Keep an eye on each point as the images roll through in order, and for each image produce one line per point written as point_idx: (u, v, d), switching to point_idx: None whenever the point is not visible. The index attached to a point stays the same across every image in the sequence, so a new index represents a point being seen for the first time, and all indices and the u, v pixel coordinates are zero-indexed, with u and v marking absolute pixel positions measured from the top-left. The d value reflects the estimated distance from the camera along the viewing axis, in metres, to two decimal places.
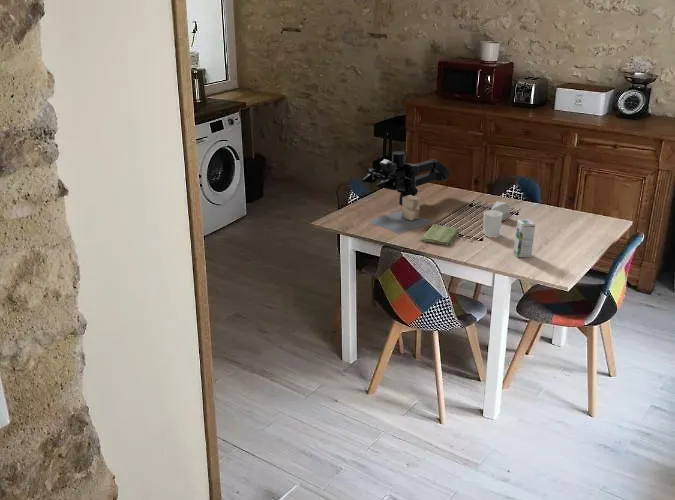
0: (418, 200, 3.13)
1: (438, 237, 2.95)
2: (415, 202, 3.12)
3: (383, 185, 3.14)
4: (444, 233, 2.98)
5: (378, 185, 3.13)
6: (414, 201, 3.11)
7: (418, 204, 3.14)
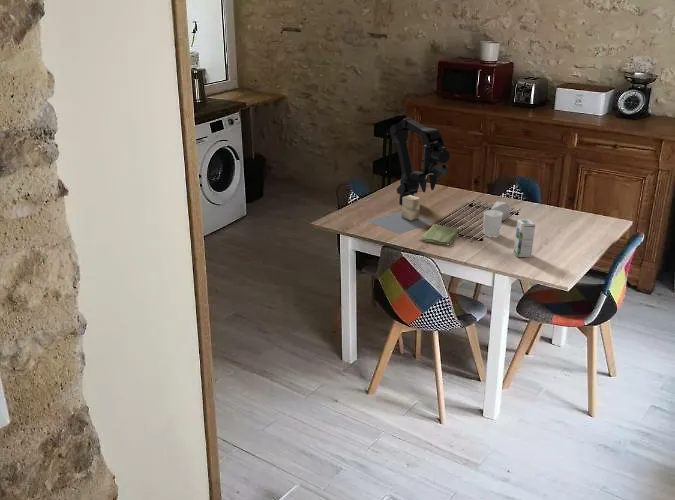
0: (418, 200, 3.13)
1: (438, 237, 2.95)
2: (415, 202, 3.12)
3: None
4: (444, 233, 2.98)
5: None
6: (414, 201, 3.11)
7: (418, 204, 3.14)
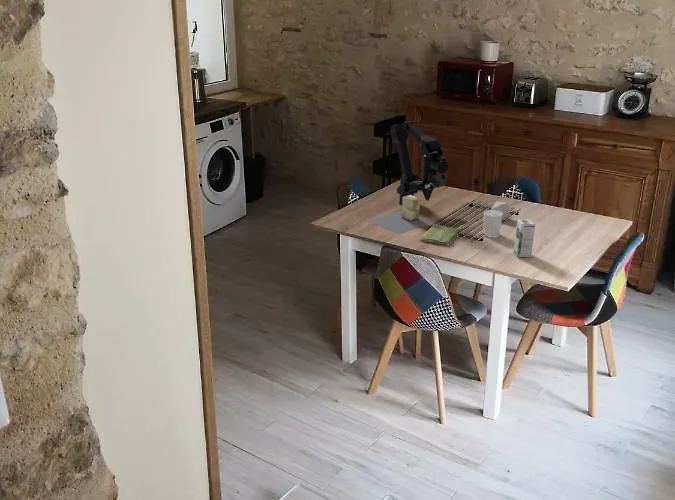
0: (418, 200, 3.13)
1: (438, 237, 2.95)
2: (415, 202, 3.12)
3: None
4: (444, 233, 2.98)
5: None
6: (414, 201, 3.11)
7: (418, 204, 3.14)
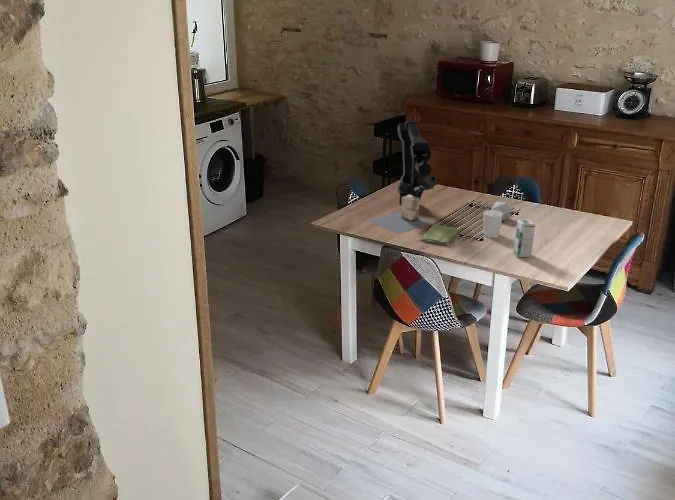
0: (417, 200, 3.13)
1: (438, 237, 2.95)
2: (414, 202, 3.12)
3: None
4: (444, 233, 2.98)
5: None
6: (413, 201, 3.11)
7: (417, 204, 3.13)
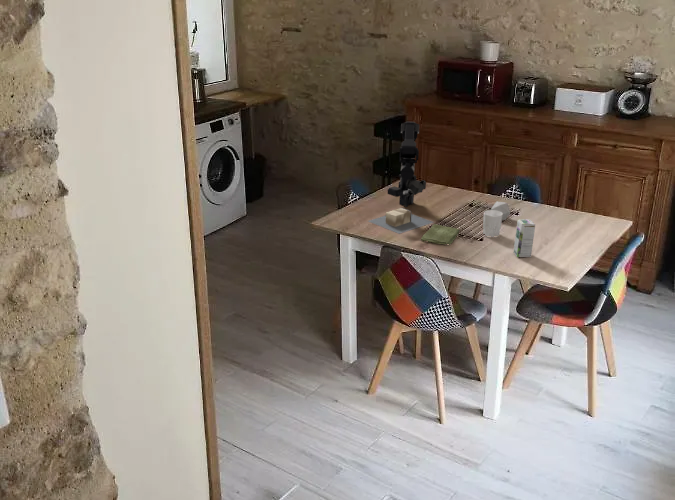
0: (396, 217, 3.07)
1: (438, 237, 2.95)
2: (397, 221, 3.08)
3: None
4: (444, 233, 2.98)
5: None
6: (396, 223, 3.08)
7: (400, 216, 3.08)
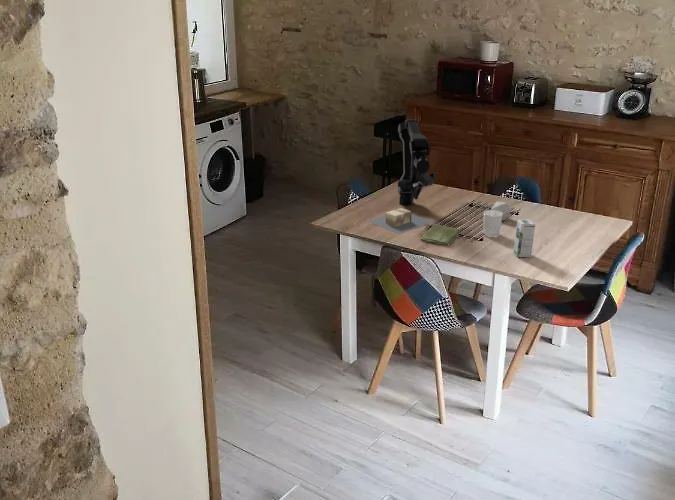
0: (396, 217, 3.07)
1: (438, 237, 2.95)
2: (397, 221, 3.08)
3: None
4: (444, 233, 2.98)
5: None
6: (396, 223, 3.08)
7: (400, 216, 3.08)
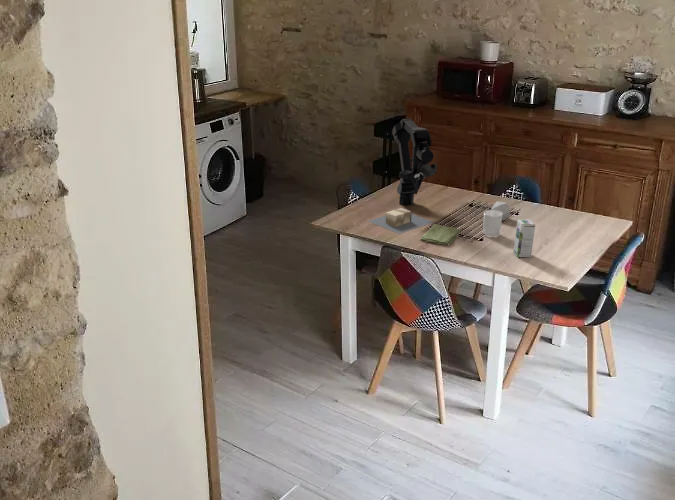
0: (396, 217, 3.07)
1: (438, 237, 2.95)
2: (397, 221, 3.08)
3: None
4: (444, 233, 2.98)
5: None
6: (396, 223, 3.08)
7: (400, 216, 3.08)
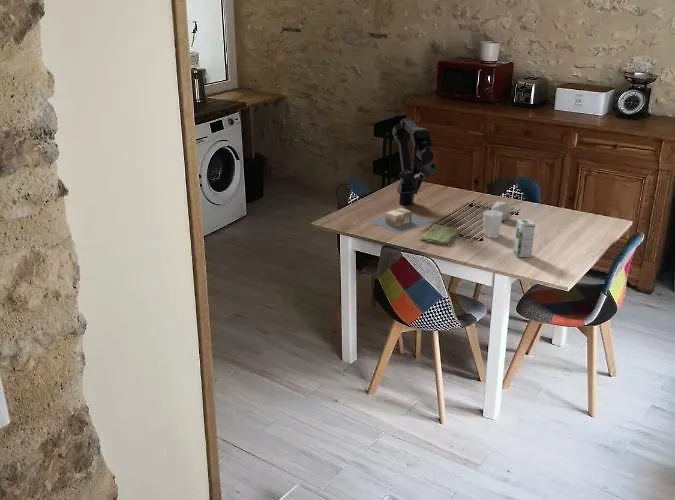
0: (396, 217, 3.07)
1: (438, 237, 2.95)
2: (397, 221, 3.08)
3: None
4: (444, 233, 2.98)
5: None
6: (396, 223, 3.08)
7: (400, 216, 3.08)
